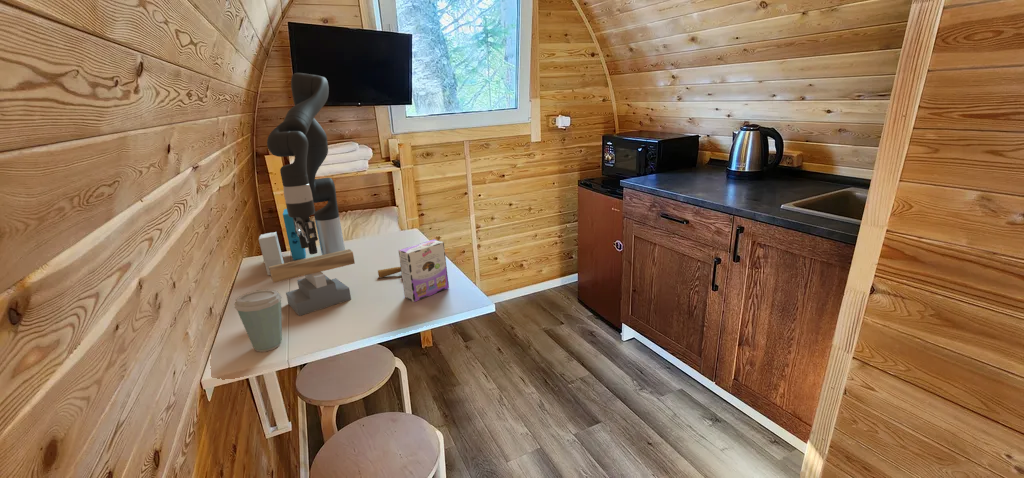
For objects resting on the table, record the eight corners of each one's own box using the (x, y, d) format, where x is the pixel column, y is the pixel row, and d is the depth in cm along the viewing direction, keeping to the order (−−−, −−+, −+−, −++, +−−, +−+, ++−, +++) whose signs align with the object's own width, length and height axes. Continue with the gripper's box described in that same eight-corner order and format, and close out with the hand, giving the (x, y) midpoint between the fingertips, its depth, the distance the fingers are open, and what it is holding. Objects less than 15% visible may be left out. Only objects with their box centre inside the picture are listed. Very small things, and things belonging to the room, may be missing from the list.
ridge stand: (288, 303, 142) (281, 273, 139) (338, 289, 151) (332, 260, 148) (299, 315, 133) (292, 283, 130) (351, 299, 143) (345, 269, 139)
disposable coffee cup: (261, 336, 122) (248, 286, 117) (299, 335, 121) (288, 284, 117) (237, 357, 112) (222, 303, 107) (278, 356, 111) (265, 302, 107)
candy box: (439, 284, 151) (434, 238, 146) (449, 288, 147) (444, 241, 142) (404, 297, 142) (397, 249, 137) (414, 302, 138) (407, 253, 133)
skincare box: (284, 273, 170) (276, 236, 165) (266, 276, 167) (258, 238, 163) (285, 266, 177) (277, 230, 172) (268, 269, 175) (259, 233, 170)
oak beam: (271, 278, 134) (268, 266, 133) (351, 260, 147) (349, 249, 146) (273, 282, 131) (270, 270, 130) (354, 263, 144) (352, 252, 143)
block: (305, 259, 184) (296, 213, 178) (292, 261, 182) (282, 214, 176) (306, 251, 194) (297, 207, 188) (293, 253, 193) (284, 209, 187)
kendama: (380, 285, 156) (430, 273, 158) (375, 268, 155) (425, 256, 157) (382, 281, 164) (430, 269, 166) (378, 265, 163) (426, 253, 165)
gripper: (319, 200, 129) (329, 252, 134) (305, 194, 140) (314, 243, 144) (292, 205, 125) (303, 259, 129) (279, 198, 135) (290, 248, 140)
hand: (309, 250), depth 137 cm, fingers open, 8 cm apart
